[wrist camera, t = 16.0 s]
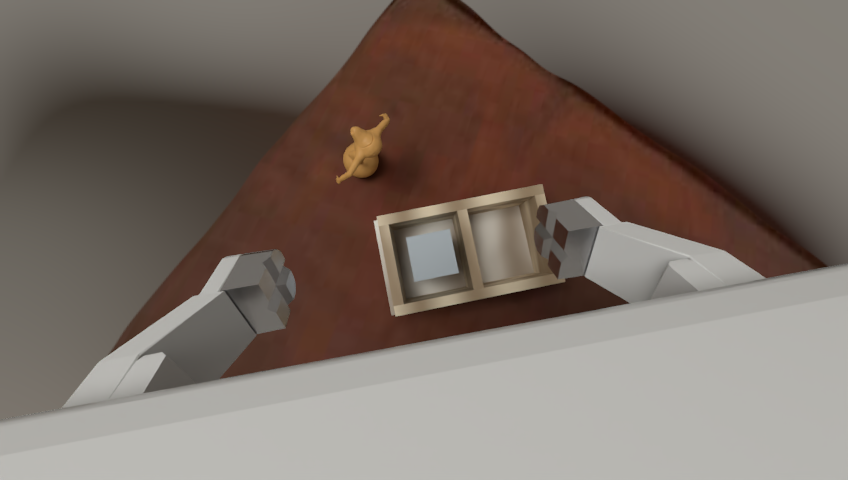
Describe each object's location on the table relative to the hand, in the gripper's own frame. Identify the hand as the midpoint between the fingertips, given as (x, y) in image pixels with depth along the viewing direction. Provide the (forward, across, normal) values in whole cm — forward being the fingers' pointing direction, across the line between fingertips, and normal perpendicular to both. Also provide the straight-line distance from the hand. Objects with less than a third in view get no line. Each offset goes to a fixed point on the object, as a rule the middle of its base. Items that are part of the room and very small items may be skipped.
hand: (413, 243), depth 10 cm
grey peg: (+19, -2, +17) cm, 25 cm away
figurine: (+28, +3, +9) cm, 29 cm away
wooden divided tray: (+20, -6, +17) cm, 27 cm away
